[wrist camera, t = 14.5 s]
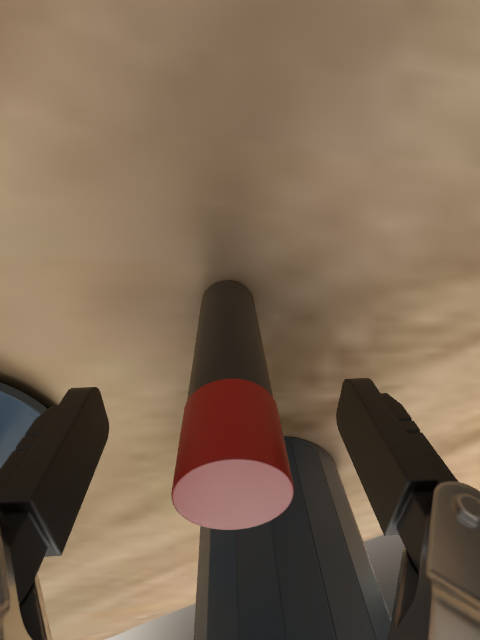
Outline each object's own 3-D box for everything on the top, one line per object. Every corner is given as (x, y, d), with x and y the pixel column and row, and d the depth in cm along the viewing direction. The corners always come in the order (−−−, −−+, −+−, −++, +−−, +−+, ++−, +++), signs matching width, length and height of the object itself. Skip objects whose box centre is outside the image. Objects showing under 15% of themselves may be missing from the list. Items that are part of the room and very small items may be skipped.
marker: (226, 267, 15) (232, 438, 6) (265, 303, 16) (319, 494, 7) (189, 304, 16) (145, 501, 7) (228, 336, 17) (234, 542, 8)
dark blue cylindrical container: (276, 414, 20) (337, 715, 9) (361, 477, 24) (474, 740, 13) (176, 485, 24) (136, 769, 13) (266, 530, 28) (294, 776, 17)
